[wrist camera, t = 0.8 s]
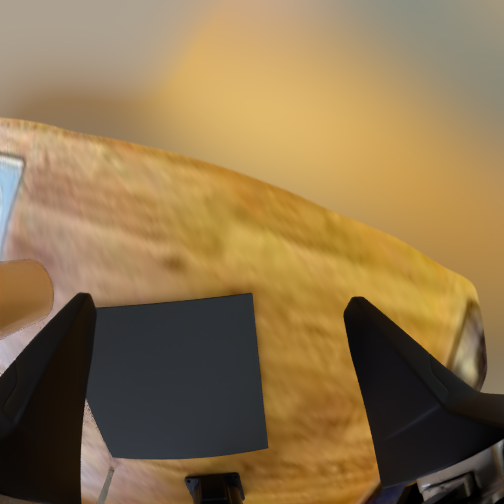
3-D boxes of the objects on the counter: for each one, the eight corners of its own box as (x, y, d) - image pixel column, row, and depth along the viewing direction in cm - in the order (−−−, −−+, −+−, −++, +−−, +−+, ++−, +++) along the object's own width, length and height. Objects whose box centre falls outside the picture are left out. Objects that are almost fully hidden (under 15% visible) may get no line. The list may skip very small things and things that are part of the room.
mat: (267, 445, 24) (268, 448, 24) (113, 454, 21) (112, 457, 20) (251, 292, 24) (252, 293, 23) (63, 309, 20) (61, 310, 20)
